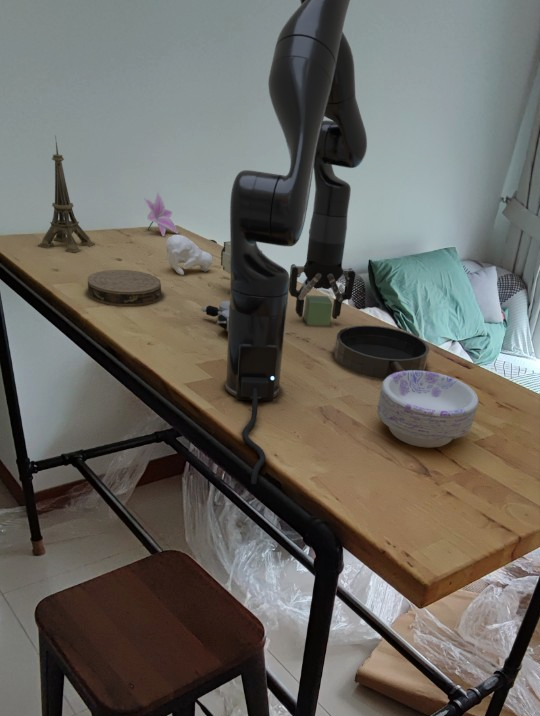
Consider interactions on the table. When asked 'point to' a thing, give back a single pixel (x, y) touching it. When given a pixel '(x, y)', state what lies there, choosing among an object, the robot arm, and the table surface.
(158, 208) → the lily
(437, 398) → the paper bowls
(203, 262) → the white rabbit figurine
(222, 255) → the pneumatic valve
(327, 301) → the cube
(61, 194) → the eiffel tower
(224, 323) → the robot toy
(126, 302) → the wood log slice
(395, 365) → the pan handle
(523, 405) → the table surface
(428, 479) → the table surface
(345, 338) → the pan
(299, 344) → the table surface
